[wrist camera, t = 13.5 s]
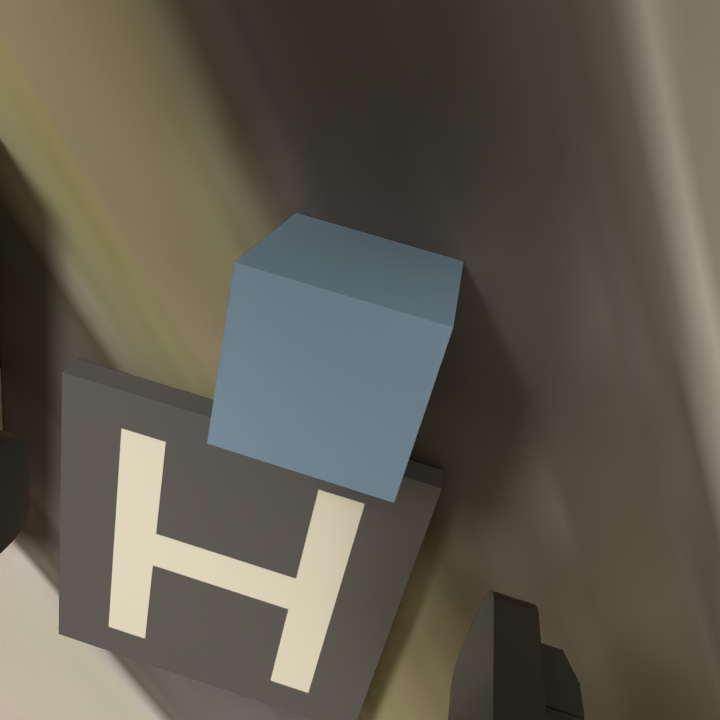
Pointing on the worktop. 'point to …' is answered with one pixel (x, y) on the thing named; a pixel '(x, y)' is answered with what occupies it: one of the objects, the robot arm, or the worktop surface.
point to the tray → (0, 422)
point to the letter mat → (224, 551)
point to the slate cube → (332, 352)
